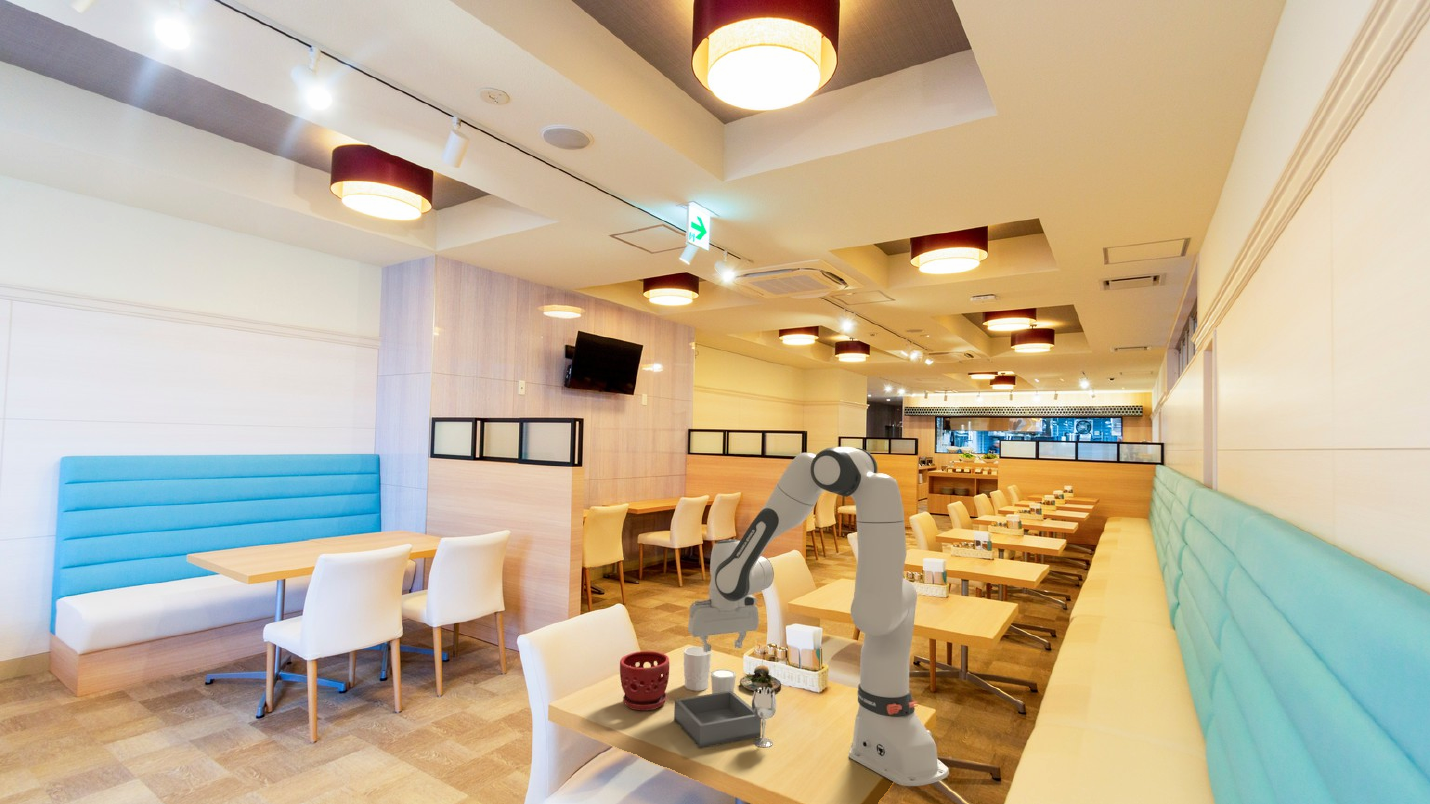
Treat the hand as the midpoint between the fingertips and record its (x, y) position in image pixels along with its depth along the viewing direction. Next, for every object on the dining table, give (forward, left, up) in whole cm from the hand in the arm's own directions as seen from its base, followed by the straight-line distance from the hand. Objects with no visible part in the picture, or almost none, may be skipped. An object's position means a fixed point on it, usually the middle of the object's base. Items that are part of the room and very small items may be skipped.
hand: (722, 649), depth 178 cm
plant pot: (+5, +21, -14) cm, 25 cm away
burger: (+4, -14, -14) cm, 20 cm away
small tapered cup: (0, 0, -14) cm, 14 cm away
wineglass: (-26, +2, -14) cm, 30 cm away
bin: (-15, +9, -13) cm, 22 cm away
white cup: (+11, +3, -14) cm, 18 cm away
